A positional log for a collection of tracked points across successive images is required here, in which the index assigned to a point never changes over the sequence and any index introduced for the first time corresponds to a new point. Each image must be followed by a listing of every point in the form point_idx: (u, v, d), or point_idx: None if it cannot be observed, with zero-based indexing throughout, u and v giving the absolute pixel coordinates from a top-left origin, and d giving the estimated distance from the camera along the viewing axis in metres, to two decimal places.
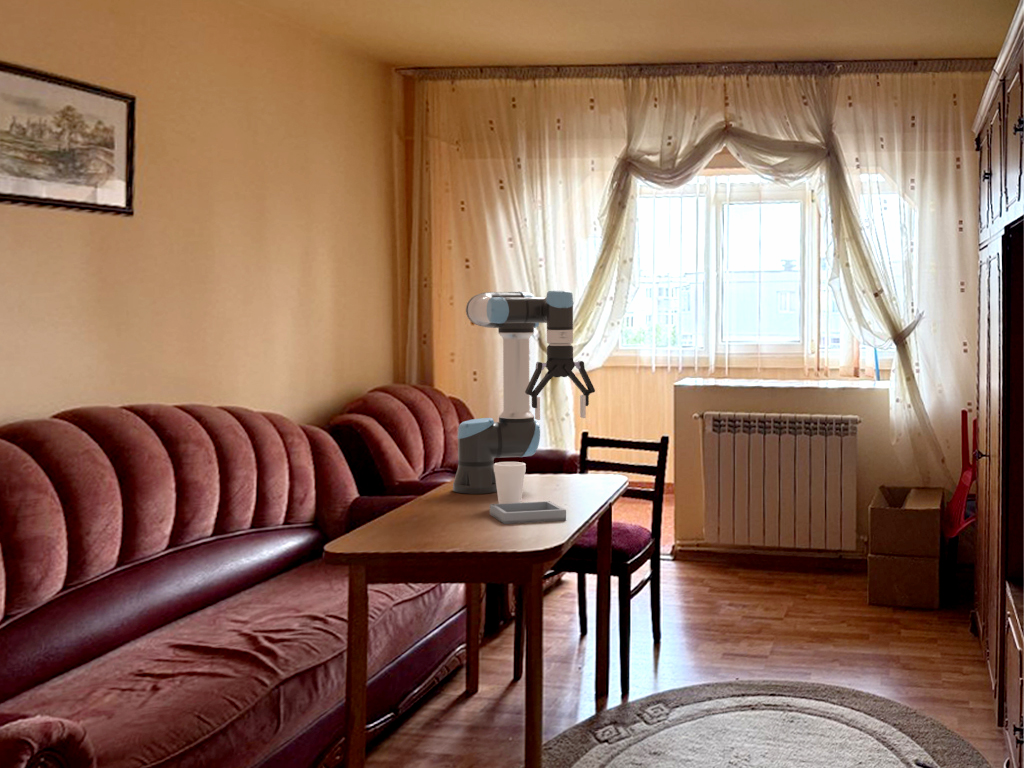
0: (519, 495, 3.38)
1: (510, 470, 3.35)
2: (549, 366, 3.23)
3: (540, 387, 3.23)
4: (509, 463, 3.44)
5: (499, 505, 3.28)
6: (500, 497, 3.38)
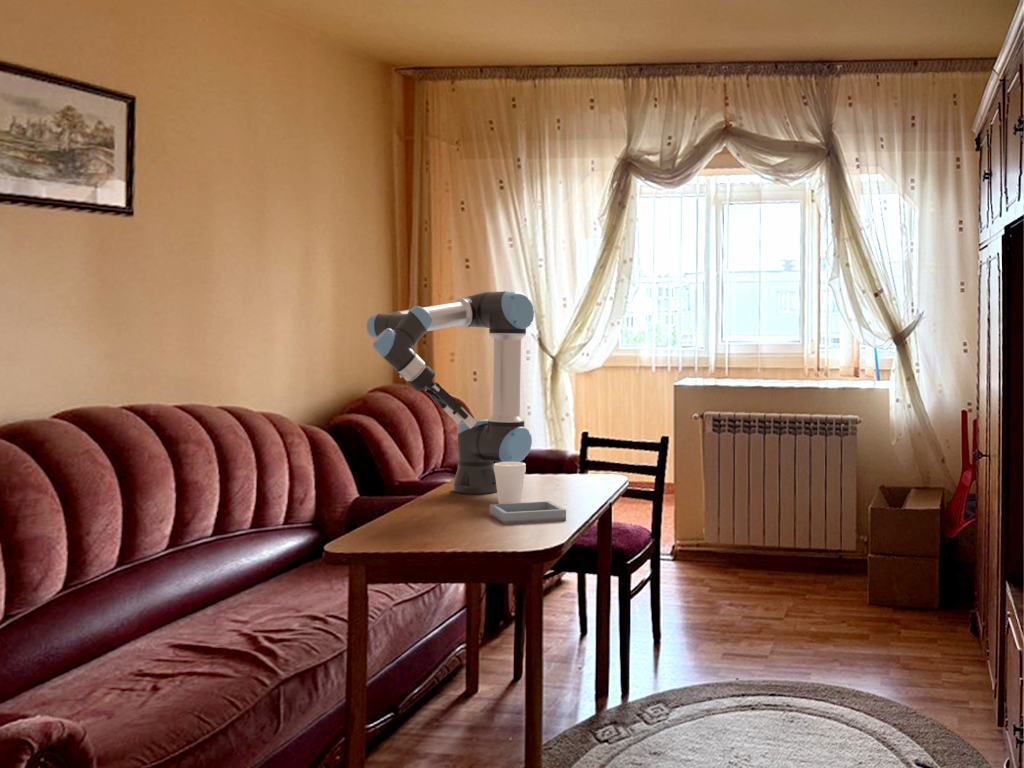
0: (519, 495, 3.38)
1: (510, 470, 3.35)
2: (426, 389, 3.34)
3: (437, 402, 3.38)
4: (509, 463, 3.44)
5: (499, 505, 3.28)
6: (500, 497, 3.38)
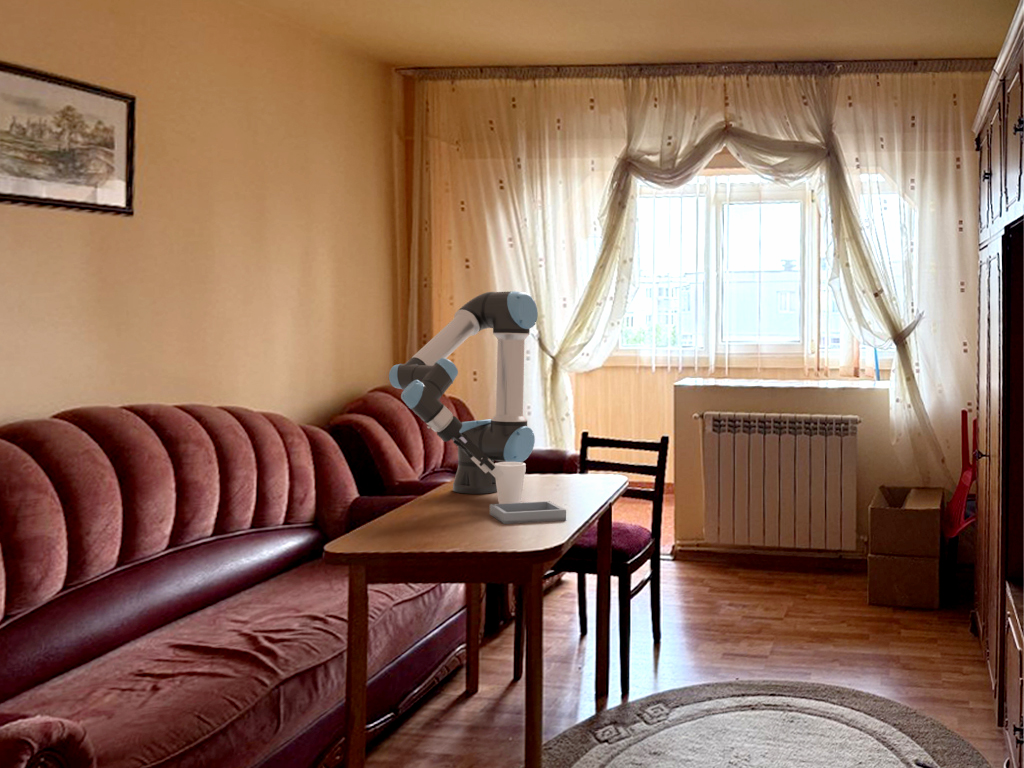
0: (519, 495, 3.38)
1: (510, 470, 3.35)
2: None
3: (465, 452, 3.41)
4: (509, 463, 3.44)
5: (499, 505, 3.28)
6: (500, 497, 3.38)
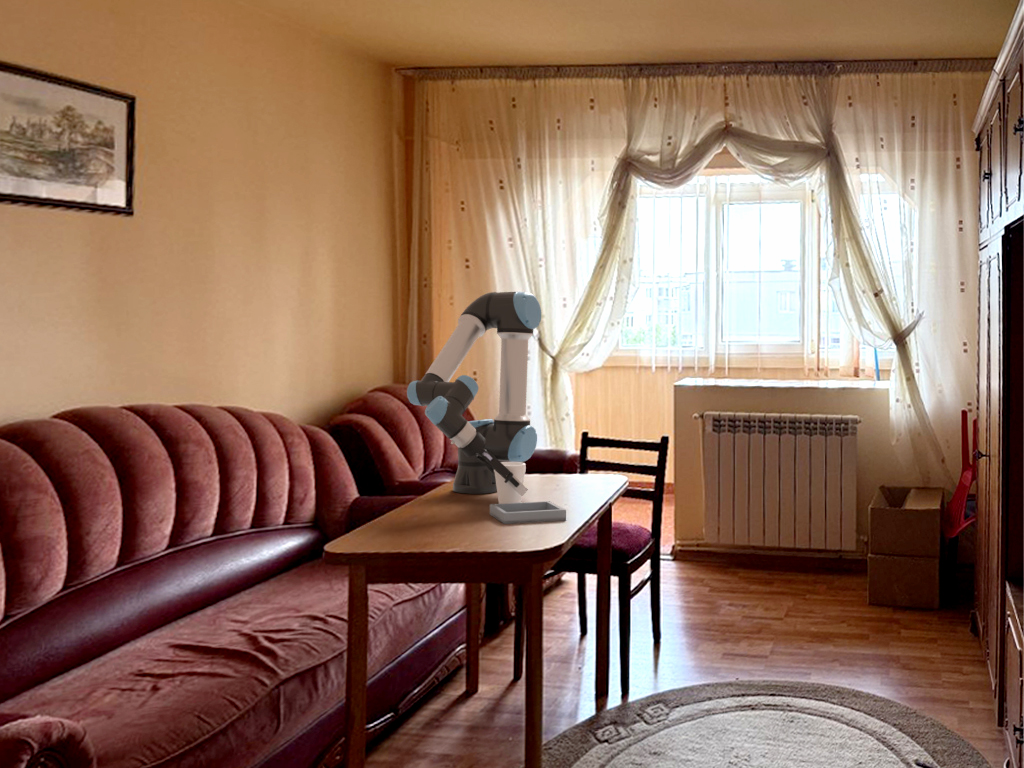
0: (519, 495, 3.38)
1: (510, 470, 3.35)
2: None
3: (491, 469, 3.43)
4: (509, 463, 3.44)
5: (499, 505, 3.28)
6: (500, 497, 3.38)
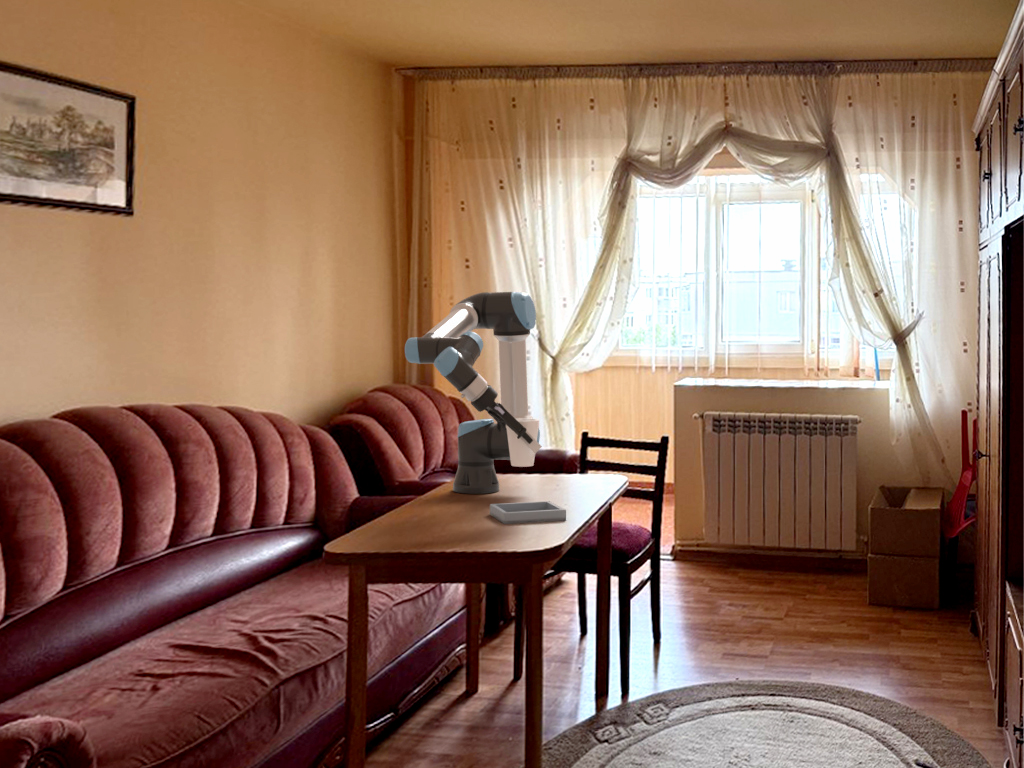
0: (532, 452, 3.21)
1: (523, 425, 3.18)
2: None
3: (503, 426, 3.26)
4: (522, 420, 3.27)
5: (499, 505, 3.28)
6: (512, 454, 3.21)
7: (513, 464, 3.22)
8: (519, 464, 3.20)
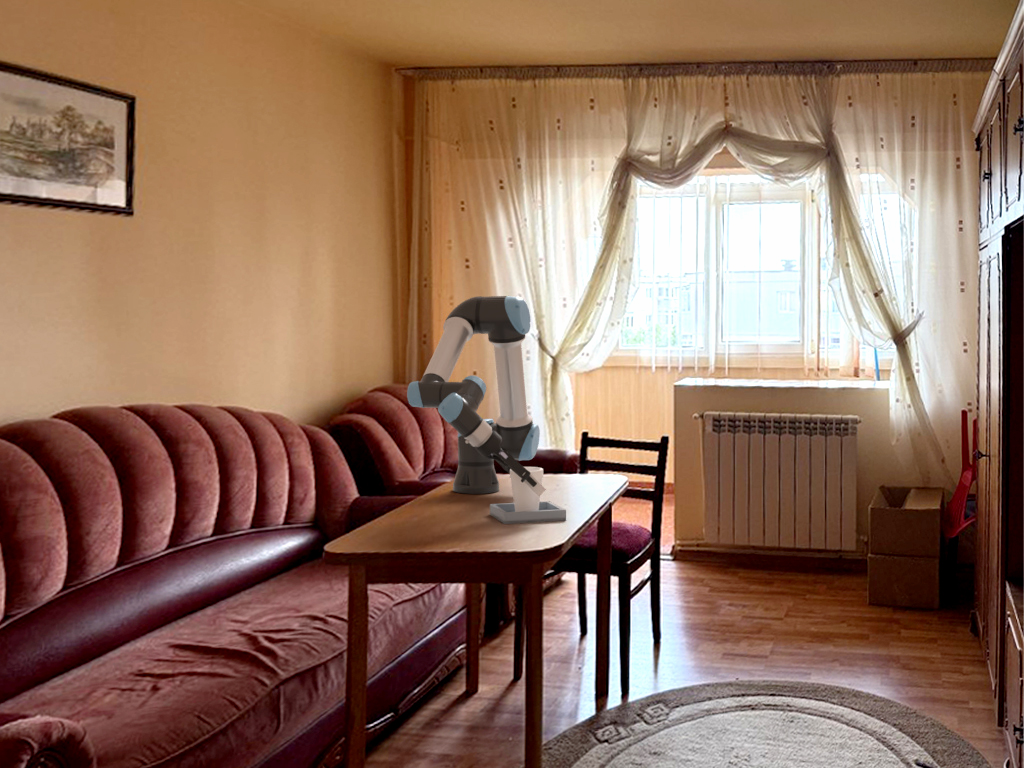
0: (537, 502, 3.21)
1: None
2: None
3: (504, 467, 3.27)
4: (526, 468, 3.27)
5: (499, 505, 3.28)
6: (517, 504, 3.21)
7: None
8: None
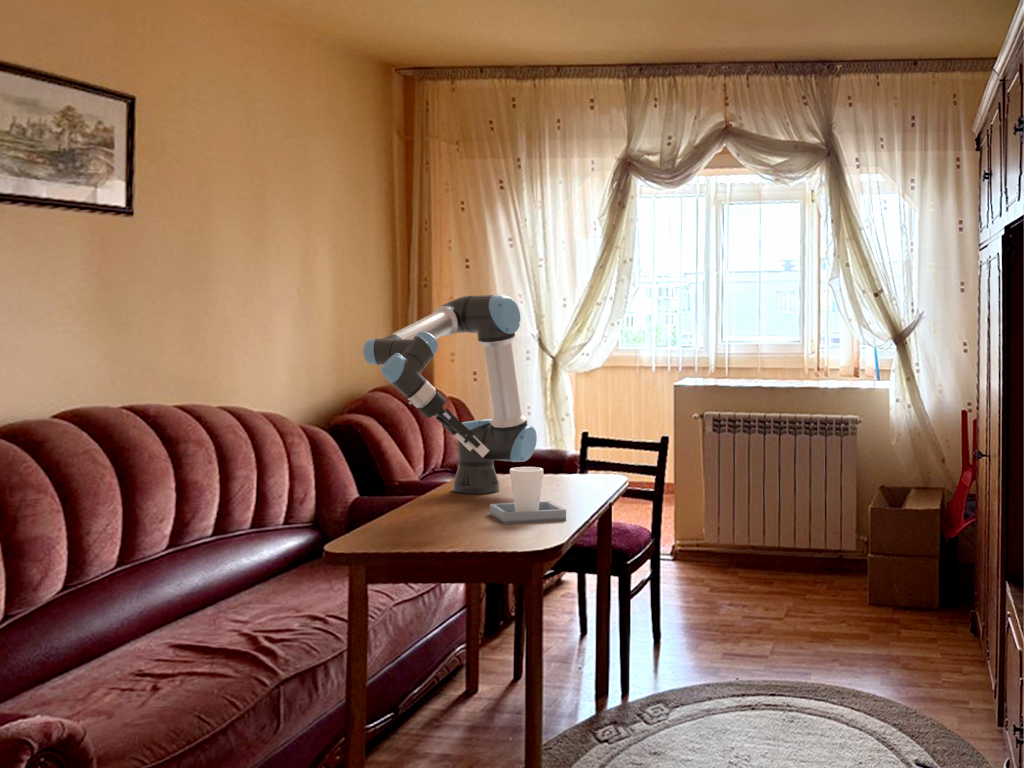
0: (537, 502, 3.21)
1: (527, 476, 3.18)
2: (436, 416, 3.22)
3: (448, 429, 3.26)
4: (526, 468, 3.27)
5: (499, 505, 3.28)
6: (517, 504, 3.21)
7: None
8: None
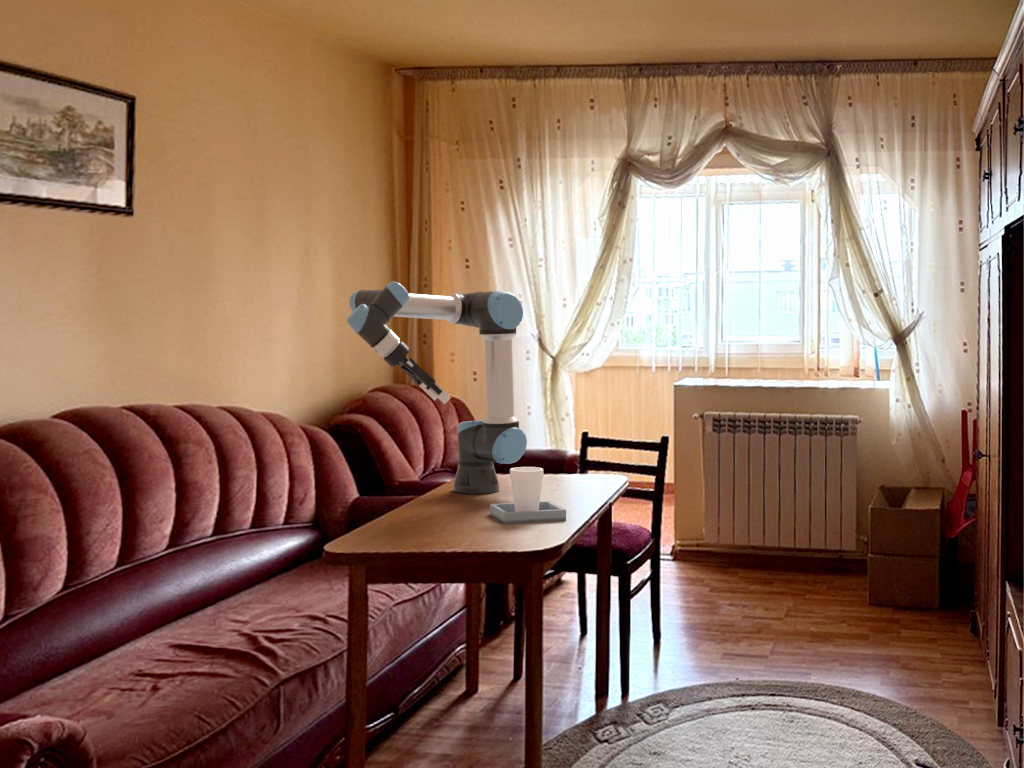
0: (537, 502, 3.21)
1: (527, 476, 3.18)
2: (401, 365, 3.35)
3: (413, 379, 3.39)
4: (526, 468, 3.27)
5: (499, 505, 3.28)
6: (517, 504, 3.21)
7: None
8: None
